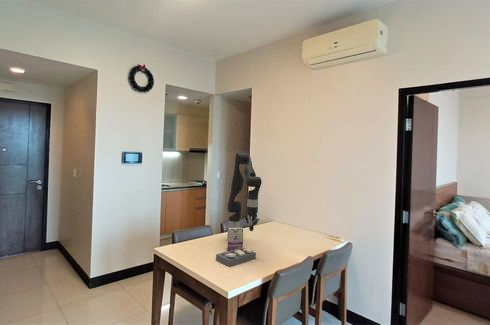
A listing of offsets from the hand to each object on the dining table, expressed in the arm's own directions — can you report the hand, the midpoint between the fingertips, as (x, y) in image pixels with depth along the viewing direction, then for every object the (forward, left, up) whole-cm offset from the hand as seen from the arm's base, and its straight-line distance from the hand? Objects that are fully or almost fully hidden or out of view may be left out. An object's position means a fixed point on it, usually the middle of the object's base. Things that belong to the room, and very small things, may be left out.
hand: (251, 230), depth 188 cm
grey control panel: (-5, -8, -20) cm, 22 cm away
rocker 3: (-2, 0, -14) cm, 15 cm away
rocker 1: (-2, -16, -14) cm, 22 cm away
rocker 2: (-2, -8, -14) cm, 17 cm away
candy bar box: (-20, +4, -20) cm, 29 cm away
